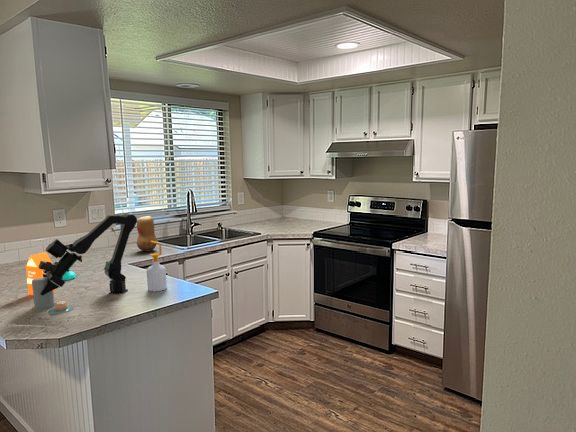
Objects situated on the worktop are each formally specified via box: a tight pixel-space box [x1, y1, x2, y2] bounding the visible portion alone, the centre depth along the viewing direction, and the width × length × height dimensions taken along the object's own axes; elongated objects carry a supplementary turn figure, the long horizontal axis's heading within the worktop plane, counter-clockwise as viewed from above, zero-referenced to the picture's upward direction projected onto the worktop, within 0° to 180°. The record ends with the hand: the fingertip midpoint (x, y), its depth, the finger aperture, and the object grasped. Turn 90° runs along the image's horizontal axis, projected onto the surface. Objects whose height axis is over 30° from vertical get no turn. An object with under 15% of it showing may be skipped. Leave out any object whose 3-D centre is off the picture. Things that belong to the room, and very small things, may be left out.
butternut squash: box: [136, 215, 158, 252], centre depth 303 cm, size 14×13×25 cm
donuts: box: [56, 260, 76, 282], centre depth 238 cm, size 10×10×10 cm
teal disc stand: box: [47, 300, 75, 315], centre depth 187 cm, size 10×10×4 cm
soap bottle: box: [146, 240, 168, 293], centre depth 214 cm, size 9×9×25 cm
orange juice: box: [25, 251, 56, 296], centre depth 212 cm, size 8×9×20 cm
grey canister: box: [32, 277, 56, 311], centre depth 191 cm, size 8×8×12 cm
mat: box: [31, 306, 55, 312], centre depth 192 cm, size 10×10×1 cm
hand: (39, 292), depth 191 cm, fingers closed on grey canister, 8 cm apart
